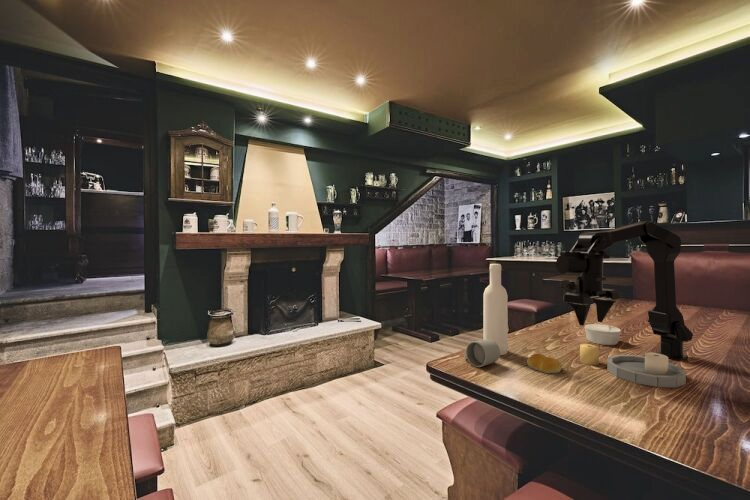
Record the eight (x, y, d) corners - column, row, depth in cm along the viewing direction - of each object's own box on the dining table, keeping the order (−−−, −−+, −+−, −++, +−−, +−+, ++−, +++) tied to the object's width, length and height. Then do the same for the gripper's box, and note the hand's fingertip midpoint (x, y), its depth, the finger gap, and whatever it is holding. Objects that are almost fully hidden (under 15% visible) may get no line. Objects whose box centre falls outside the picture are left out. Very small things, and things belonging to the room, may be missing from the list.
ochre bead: (586, 358, 111) (586, 342, 111) (602, 363, 107) (602, 347, 107) (576, 361, 109) (576, 345, 109) (592, 366, 105) (592, 349, 104)
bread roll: (554, 376, 98) (554, 362, 97) (523, 367, 105) (523, 354, 104) (566, 369, 103) (566, 356, 103) (536, 361, 110) (536, 348, 110)
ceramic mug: (502, 364, 107) (502, 339, 107) (486, 370, 102) (485, 344, 102) (474, 355, 116) (473, 332, 115) (457, 361, 111) (457, 337, 110)
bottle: (500, 357, 113) (500, 265, 112) (478, 351, 119) (478, 264, 118) (512, 351, 119) (512, 264, 118) (491, 346, 125) (491, 262, 124)
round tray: (628, 359, 110) (628, 351, 109) (697, 379, 94) (697, 369, 94) (594, 369, 102) (594, 360, 102) (663, 392, 87) (663, 382, 86)
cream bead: (650, 368, 99) (650, 351, 99) (671, 375, 94) (672, 356, 94) (640, 372, 97) (640, 354, 96) (661, 378, 92) (662, 359, 92)
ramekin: (628, 346, 123) (628, 331, 123) (596, 346, 123) (596, 331, 123) (607, 337, 134) (607, 323, 134) (578, 337, 134) (578, 324, 134)
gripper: (584, 269, 118) (584, 315, 118) (547, 272, 110) (547, 321, 110) (620, 272, 108) (619, 322, 109) (582, 275, 100) (581, 329, 100)
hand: (590, 323), depth 107 cm, fingers open, 9 cm apart
